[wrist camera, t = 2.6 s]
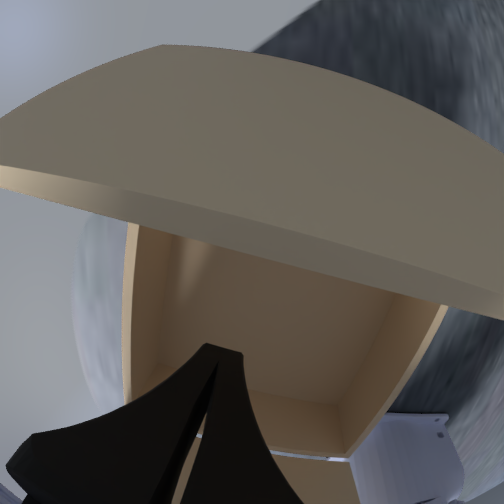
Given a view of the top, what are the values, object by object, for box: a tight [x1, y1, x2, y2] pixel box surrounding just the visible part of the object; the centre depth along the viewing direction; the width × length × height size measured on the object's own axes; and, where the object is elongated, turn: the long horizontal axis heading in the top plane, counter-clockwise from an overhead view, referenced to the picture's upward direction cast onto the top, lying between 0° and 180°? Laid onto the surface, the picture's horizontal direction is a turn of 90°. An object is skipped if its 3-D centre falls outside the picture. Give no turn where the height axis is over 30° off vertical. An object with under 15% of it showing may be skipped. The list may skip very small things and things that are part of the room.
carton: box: [122, 222, 449, 458], centre depth 14 cm, size 14×18×5 cm
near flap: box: [0, 45, 504, 320], centre depth 5 cm, size 14×8×1 cm
